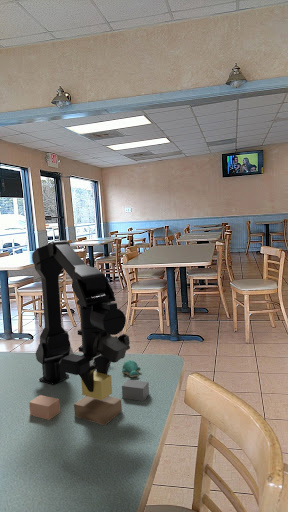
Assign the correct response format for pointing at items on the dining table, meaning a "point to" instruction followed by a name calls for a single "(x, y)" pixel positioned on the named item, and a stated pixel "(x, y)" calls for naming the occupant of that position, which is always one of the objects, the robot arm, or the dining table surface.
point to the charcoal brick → (135, 390)
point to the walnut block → (98, 409)
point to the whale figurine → (131, 368)
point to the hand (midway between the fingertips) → (96, 388)
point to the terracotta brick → (44, 407)
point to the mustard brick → (99, 386)
